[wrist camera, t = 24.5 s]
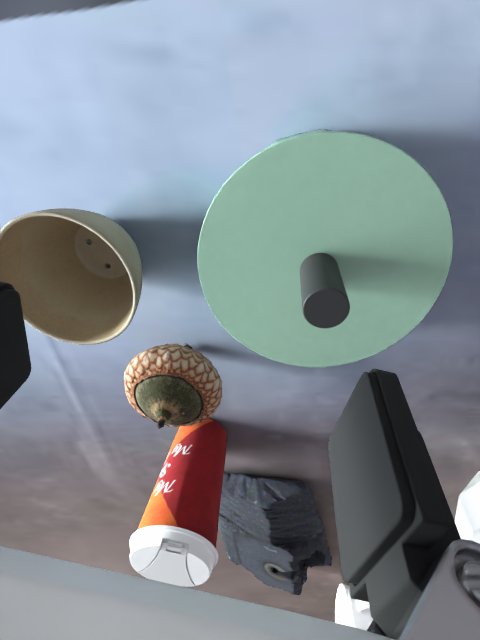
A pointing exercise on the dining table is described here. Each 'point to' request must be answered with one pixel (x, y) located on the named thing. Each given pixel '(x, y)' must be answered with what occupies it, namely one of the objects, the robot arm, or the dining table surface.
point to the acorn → (173, 385)
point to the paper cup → (183, 510)
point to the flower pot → (72, 273)
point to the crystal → (469, 511)
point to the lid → (325, 249)
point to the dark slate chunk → (272, 529)
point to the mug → (351, 610)
